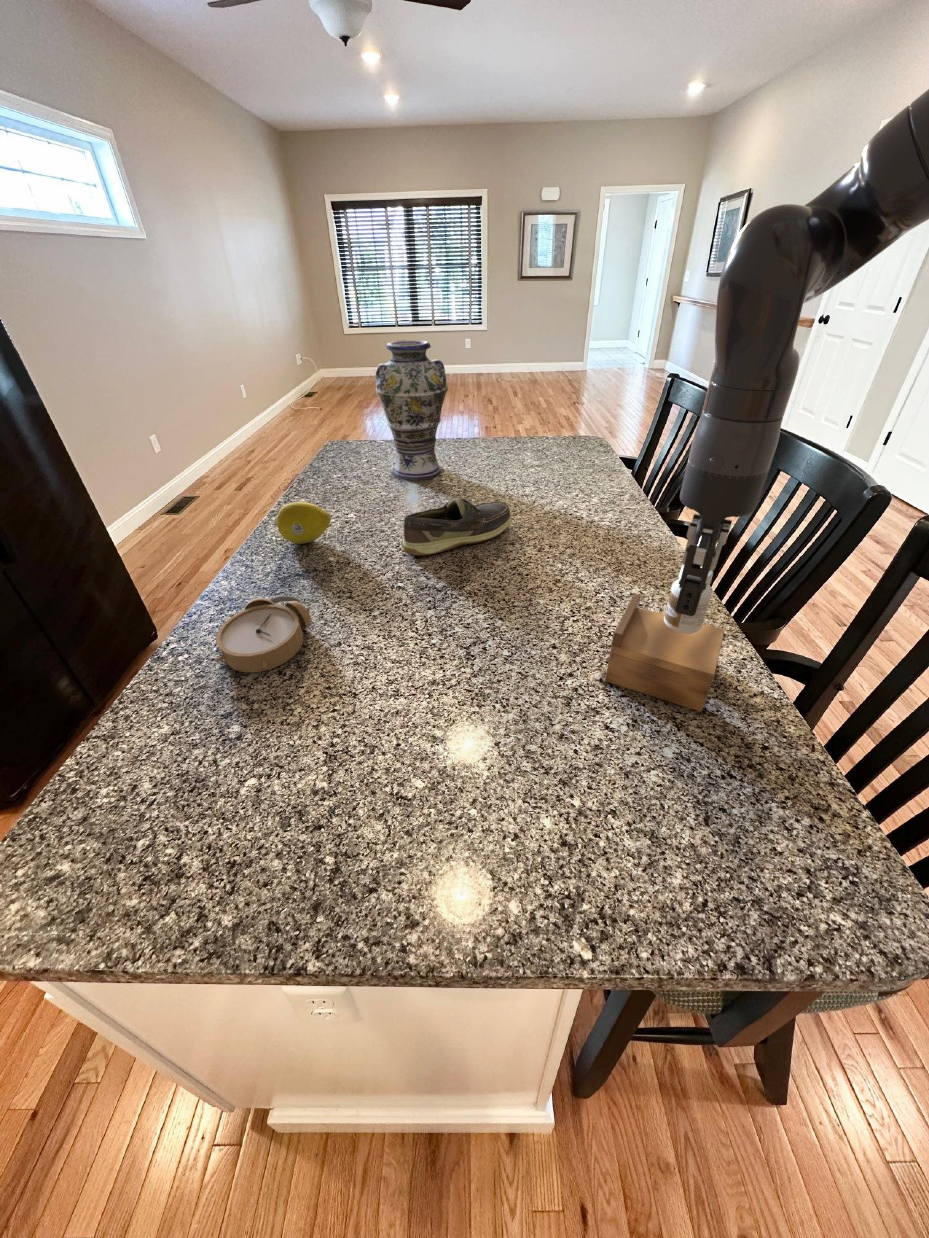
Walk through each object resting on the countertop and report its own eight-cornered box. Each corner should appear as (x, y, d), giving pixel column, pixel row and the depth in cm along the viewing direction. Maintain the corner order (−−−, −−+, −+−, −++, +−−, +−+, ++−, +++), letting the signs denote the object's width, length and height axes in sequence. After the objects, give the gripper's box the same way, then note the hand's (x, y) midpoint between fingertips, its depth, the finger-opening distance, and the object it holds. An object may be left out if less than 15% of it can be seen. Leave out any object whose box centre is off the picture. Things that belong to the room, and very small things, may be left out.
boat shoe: (522, 528, 106) (524, 490, 101) (423, 567, 93) (420, 526, 88) (492, 514, 111) (493, 478, 107) (395, 549, 99) (391, 510, 94)
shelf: (712, 664, 70) (729, 616, 65) (701, 712, 63) (719, 661, 58) (624, 639, 74) (633, 593, 70) (604, 681, 67) (613, 632, 63)
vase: (457, 479, 129) (453, 345, 112) (388, 486, 126) (374, 349, 109) (444, 459, 142) (439, 336, 125) (381, 464, 139) (368, 340, 122)
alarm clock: (198, 653, 69) (251, 580, 79) (212, 675, 72) (262, 603, 83) (274, 662, 67) (319, 586, 77) (286, 685, 70) (327, 610, 81)
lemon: (271, 548, 100) (261, 509, 95) (290, 530, 106) (282, 494, 102) (323, 552, 98) (316, 513, 93) (339, 534, 104) (333, 497, 100)
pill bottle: (658, 613, 65) (672, 560, 61) (694, 614, 65) (710, 560, 60) (668, 634, 61) (683, 579, 57) (706, 635, 61) (724, 579, 57)
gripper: (765, 490, 45) (714, 644, 55) (773, 445, 55) (729, 582, 65) (676, 477, 48) (642, 625, 58) (699, 437, 58) (667, 569, 68)
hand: (688, 601), depth 61 cm, fingers closed on pill bottle, 4 cm apart
